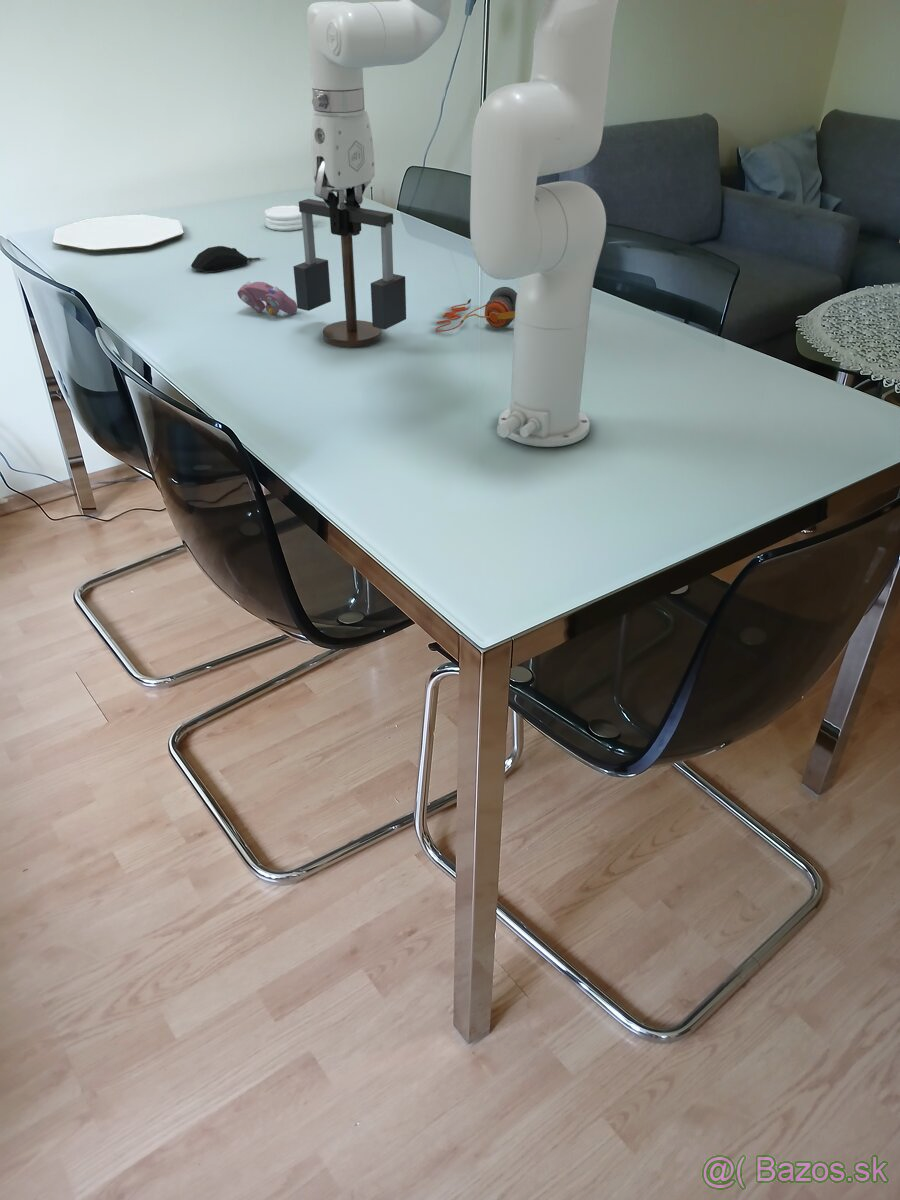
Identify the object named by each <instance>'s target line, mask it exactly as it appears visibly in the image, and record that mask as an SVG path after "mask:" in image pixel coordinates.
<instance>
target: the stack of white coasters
mask: <svg viewBox="0 0 900 1200" xmlns="http://www.w3.org/2000/svg"><path fill="white" fill-rule="evenodd" d="M264 216H265V217H264V220H265V226H266V228H267V229H270V230H273V231H279V232H280V231H281V232H290V231H298V230H303V227H302V215H301V212H299V205H277V206H272V207H269V208H267V209H265V210H264Z"/></svg>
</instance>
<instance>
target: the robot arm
mask: <svg viewBox="0 0 900 1200" xmlns="http://www.w3.org/2000/svg"><path fill="white" fill-rule="evenodd" d="M618 5H619V0H546V1H545V4H544V5H543V8H542V9H541V13H540V15H539V17H538V20H537V23H536V27H535V32H534V36H533V53H532V54H533V57H532V66H531V75H530V78H529V81H526V82H525V81H524V82H517V83H510V84H506V85H504V86H501V87H498V88H497V89H495V90H493V91H492V92H491V93H489V95H488V96H486V98H485V99H484V101H483V102H482V104H481V105H480V108H479V110H478V112H477V113H476V118H475V121H474V124H473V129H472V136H471V152H470V153H471V156H470V158H471V159H470V202H469V203H470V205H469V206H470V207H469V232H470V242H471V243H470V244H471V248H472V252H473V256H474V258H475V260H476V263H477V265H478V266H479V268H480V269H481V271H482V272H483V273H485V274H486V275H487V276H489V277H490V278H493V279H495V280H498V281H499V280H501V281H509V280H515V279H519V278H520V281H519V285H518V289H517V291H516V293H517V297H516V305H515V318H514V324H513V344H512V345H513V346H512V364H511V365H512V366H511V384H510V385H511V386H510V388H511V389H510V405H509V407H507V408H505V409H504V410H502V412H501V413H500V414H499V416H498V424H497V426H496V432H497V435H498V436H499V437H501V438H503V439H505V438H507V439H510V440H512V441H514V442H516V443H519V444H522V445H526V446H531V447H540V448H557V447H564V446H569V445H572V444H575V443H578V442H580V441H582V440H584V438H585V437H586V436H588V434H589V432H590V425H591V423H590V422H591V421H590V419H589V417H588V416H587V415H586V414H585V413H584V412H582V411H581V402H582V391H583V382H584V381H583V380H584V373H585V372H584V369H585V362H586V361H585V359H586V351H587V350H586V348H587V339H588V330H589V321H590V320H589V319H590V311H591V302H592V295H593V293H592V292H593V286H594V281H595V276H596V271H597V267H598V263H599V260H600V257H601V253H602V249H603V246H604V241H605V236H606V231H607V215H606V214H607V213H606V209H605V207H604V203H603V202H602V199H601V197H600V196H599V194H598V192H597V191H595V190H594V189H593V188H592V187H590V186H589V185H587V184H585V183H582V182H579V181H576V180H575V181H574V180H560V181H554V182H548V183H544V184H538V185H537V181H538V178H539V177H544V176H550V175H554V174H560V173H563V172H564V173H565V172H568V171H572V170H577V169H580V168H582V167H584V166H586V165H588V164H589V163H591V162H592V161H593V160H594V159H595V158H596V156H597V155H598V152H599V150H600V147H601V144H602V141H603V134H604V127H605V118H606V108H607V97H608V86H609V76H610V65H611V58H612V57H611V56H612V55H611V54H612V41H613V31H614V25H615V19H616V16H617V15H616V14H617V9H618ZM451 7H452V0H398V1H397V0H395V1H393V0H392V1H391V0H390V1H385V0H384V1H366V2H349V1H339V0H338V1H337V0H334V1H315V2H313V3H311V4H310V5H309V6H308V8H307V11H306V27H307V38H308V52H309V53H308V55H309V65H310V78H311V79H310V80H311V92H312V93H311V94H312V100H311V104H312V108H313V114H312V120H311V139H310V140H311V142H310V143H311V169H312V176H313V177H312V178H313V182H314V184H315V185H314V191H313V194H314V196H315V197H317V198H319V199H322V201H324V202H326V206H327V207H328V208H329V212H330V218H329V225H330V233H331V234H332V235H335V236H340V237H341V236H348V235H349V227H348V212H347V209H344V207H345V205H347V206H353V207H358V208H361V205H362V204H363V201H364V200H363V199H364V198H363V195H364V193H365V190H366V188H367V187H368V186H369V185H370V184H371V182H372V180H373V179H374V178H375V175H376V174H375V172H376V167H375V152H374V151H375V150H374V143H373V134H372V127H371V123H370V117H369V114H368V113H369V112H368V110H366V109H365V90H364V69H367V68H368V69H369V68H374V67H384V66H385V67H386V66H398V65H405V64H408V63H412V62H414V61H416V60H417V59H419V58H420V57H421V56H423V55H424V54H425V53H426V52H427V51H428V50H430V49H431V47H432V46H433V45H434V44H435V43H436V42H437V41H438V40H439V39H440V38H441V36H442V35H443V34H444V32H445V30H446V28H447V25H448V22H449V18H450V13H451ZM335 192H336V194H335ZM359 228H360V232H361V231H362V223H359Z"/></svg>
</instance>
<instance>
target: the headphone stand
mask: <svg viewBox="0 0 900 1200" xmlns="http://www.w3.org/2000/svg"><path fill="white" fill-rule="evenodd" d="M348 227H349V235H348V236H340V244H341V259H342V260H341V261H342V275H343V276H342V277H343V278H342V279H343V293H344V295H343V296H344V308H345V320H340V321H336V322H332V323H329V324H328V325H326V326H324V328H322V331H321V332H322V340H323V341H324V342H325V343H326V344H328V345H330V346H333V347H337V348H347V349H351V348H352V349H353V348H354V349H355V348H363V347H369V346H373V345H374V344H377V343H378V342H380V341H381V340H382V337H383V329H380V328H376V327H373V325H372V321H367V320H360V319H359V320H358V317H357V316H358V315H357V299H356V297H357V296H356V280H355V262H354V261H355V260H354V247H353V246H354V245H353V244H354V243H353V237H355V236H358V235H360V234H361V231H360V228H359V223H357V222H351V221H348Z"/></svg>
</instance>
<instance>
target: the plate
mask: <svg viewBox="0 0 900 1200" xmlns="http://www.w3.org/2000/svg"><path fill="white" fill-rule="evenodd" d="M184 234H185V233H184V229H183V225H182V222H181V220H179V219H175V218H169V217H162V216H155V215H150V214H149V215H148V214H125V215H111V216H98V217H97V216H96V217H90V218H87V219H84V220H79V221H75V222H73V223H70V224H66V225H63V226H60V227H59V226H58V227H57V228H55V229H54V230H53V237H52V243H53V244H54V245H57V246H61V247H67V248H72V249H76V250H77V249H78V250H82V251H89V252H100V251H101V252H102V251H115V250H128V249H140V248H141V249H142V248H149V247H153V246H156V245H158V244H162V243H164V242H168V241H169V240H172V239H175V238H176V239H177V238H178V237H181V236H182V235H184Z"/></svg>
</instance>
